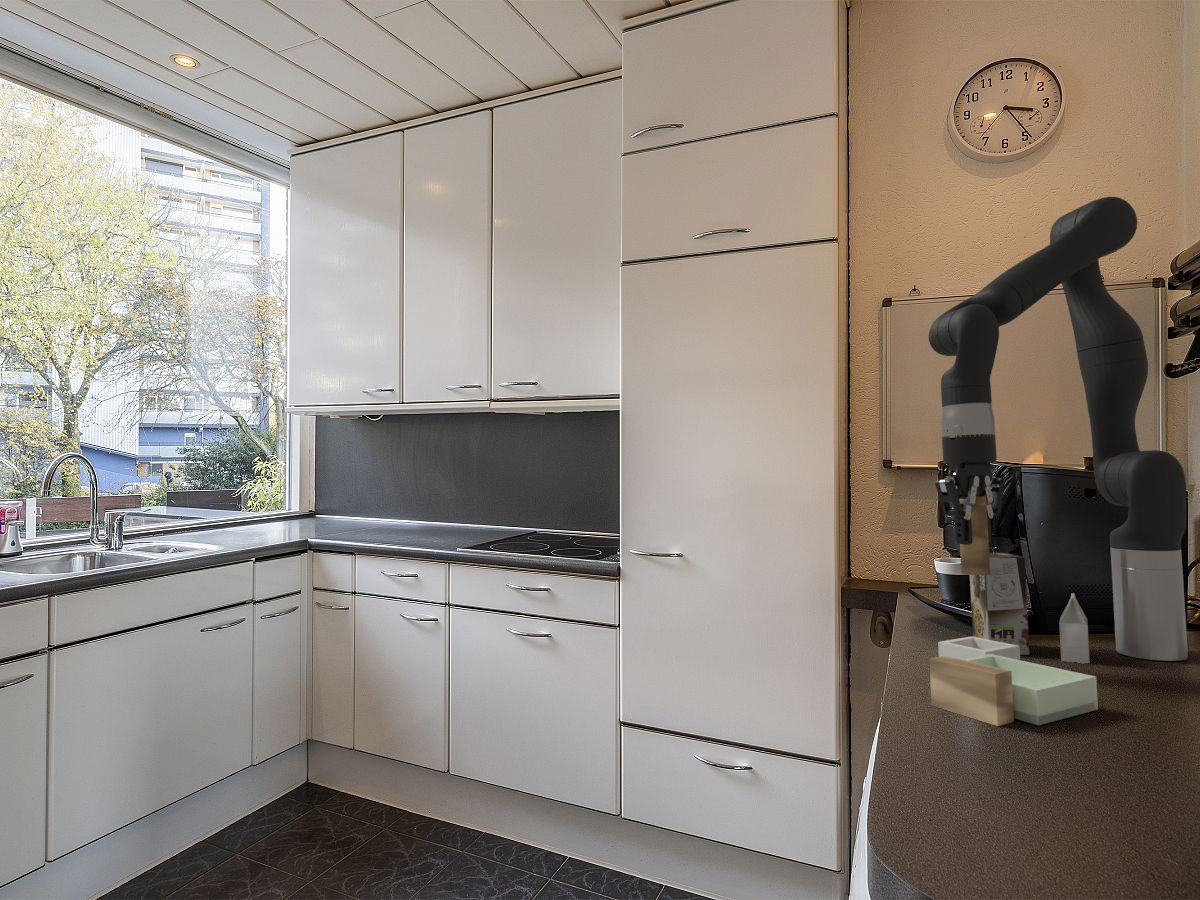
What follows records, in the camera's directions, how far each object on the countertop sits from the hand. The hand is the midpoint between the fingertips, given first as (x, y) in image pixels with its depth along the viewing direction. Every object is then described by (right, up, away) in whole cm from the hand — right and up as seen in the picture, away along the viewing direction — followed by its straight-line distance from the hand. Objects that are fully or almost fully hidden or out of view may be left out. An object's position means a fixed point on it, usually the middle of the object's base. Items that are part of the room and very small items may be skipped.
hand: (973, 542), depth 111 cm
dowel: (0, -5, 0) cm, 5 cm away
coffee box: (+10, -20, +11) cm, 25 cm away
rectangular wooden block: (-13, -18, -23) cm, 32 cm away
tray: (-5, -18, -19) cm, 27 cm away
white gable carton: (+18, -19, +3) cm, 27 cm away
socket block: (0, -19, -1) cm, 19 cm away
